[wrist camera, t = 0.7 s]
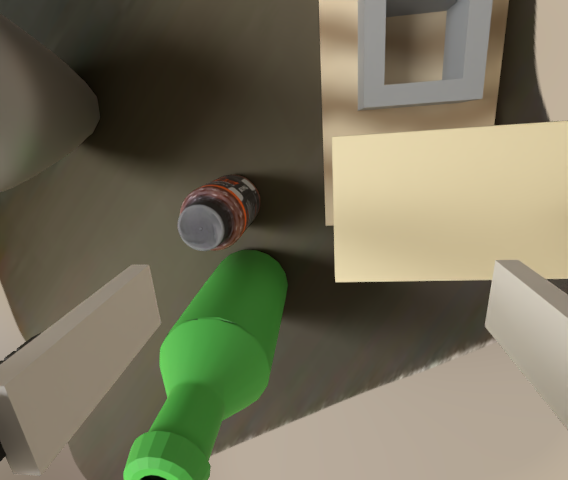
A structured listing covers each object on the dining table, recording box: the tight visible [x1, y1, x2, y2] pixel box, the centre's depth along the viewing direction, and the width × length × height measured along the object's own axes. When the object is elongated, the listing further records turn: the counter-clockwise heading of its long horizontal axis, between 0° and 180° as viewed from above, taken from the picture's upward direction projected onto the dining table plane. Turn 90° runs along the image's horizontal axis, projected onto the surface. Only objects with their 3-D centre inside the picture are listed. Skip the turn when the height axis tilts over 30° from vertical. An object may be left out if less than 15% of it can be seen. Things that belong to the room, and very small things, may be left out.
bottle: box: [123, 250, 288, 480], centre depth 29 cm, size 9×9×25 cm
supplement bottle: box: [178, 175, 260, 251], centre depth 33 cm, size 6×6×11 cm
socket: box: [358, 0, 493, 111], centre depth 28 cm, size 9×9×5 cm
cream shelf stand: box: [332, 121, 568, 282], centre depth 27 cm, size 10×15×14 cm, turn 94°
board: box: [319, 0, 509, 226], centre depth 33 cm, size 22×16×1 cm
